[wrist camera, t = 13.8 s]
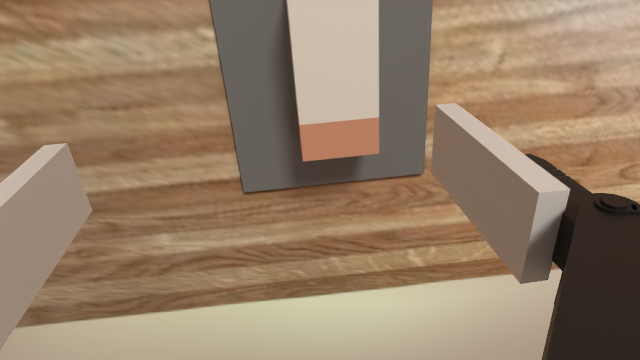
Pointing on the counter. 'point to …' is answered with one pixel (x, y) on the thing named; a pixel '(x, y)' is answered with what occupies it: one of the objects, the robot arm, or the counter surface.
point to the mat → (280, 101)
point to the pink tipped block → (336, 76)
